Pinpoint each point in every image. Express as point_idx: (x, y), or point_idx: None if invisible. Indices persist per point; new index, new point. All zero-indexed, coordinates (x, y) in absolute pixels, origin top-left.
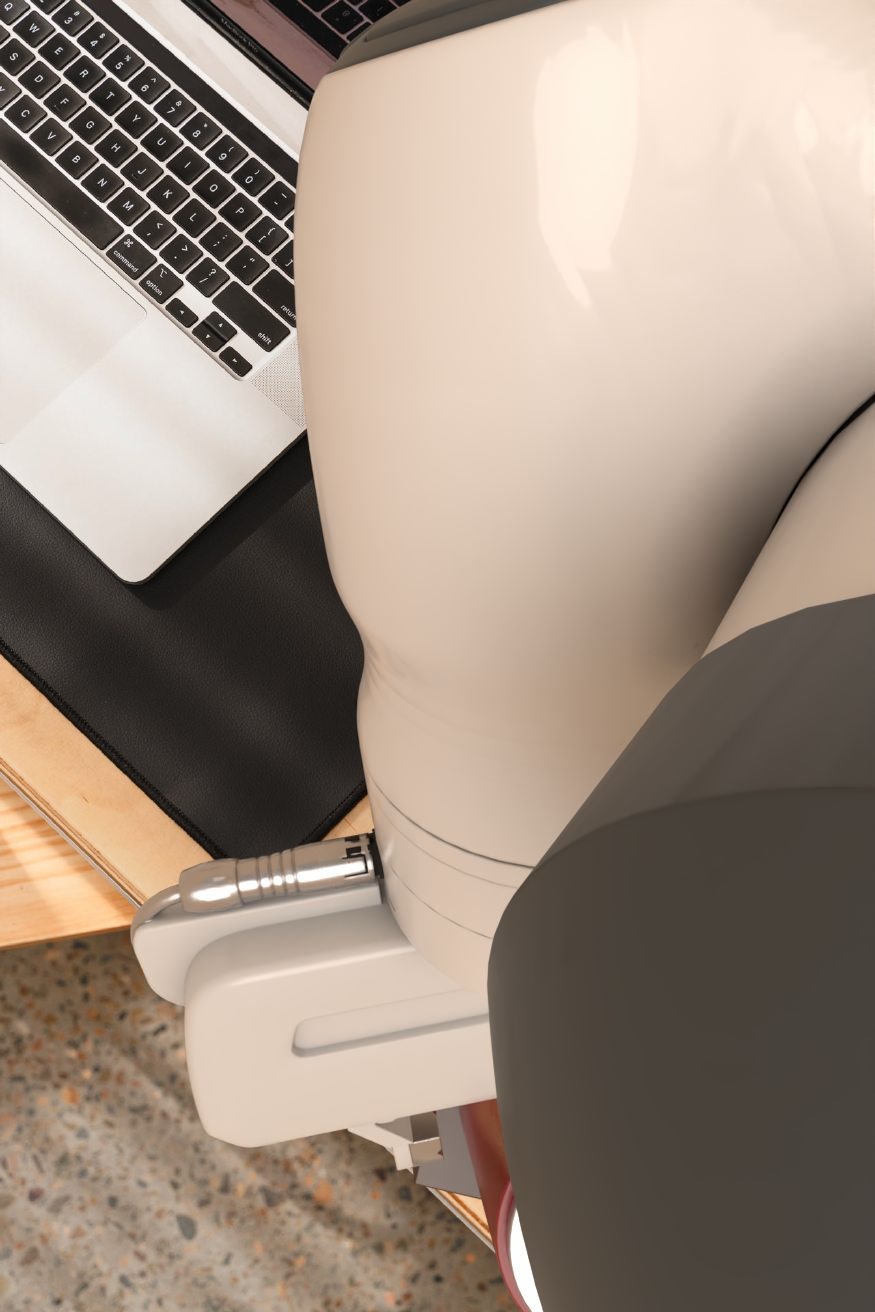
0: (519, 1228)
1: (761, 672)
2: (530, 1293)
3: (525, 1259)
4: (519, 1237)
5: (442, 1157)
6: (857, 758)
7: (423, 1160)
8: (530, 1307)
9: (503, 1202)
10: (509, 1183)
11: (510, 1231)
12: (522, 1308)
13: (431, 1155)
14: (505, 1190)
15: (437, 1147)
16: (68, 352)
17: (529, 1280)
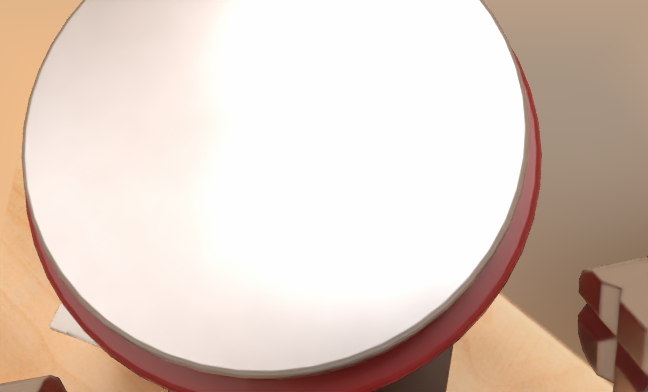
0: (504, 144)
1: None
2: (465, 7)
3: (481, 76)
4: (504, 124)
5: (601, 277)
6: None
7: (644, 272)
8: None
9: (530, 202)
10: (518, 247)
11: (526, 137)
12: None
13: (634, 284)
14: (526, 230)
15: (634, 304)
16: None
17: (468, 33)
